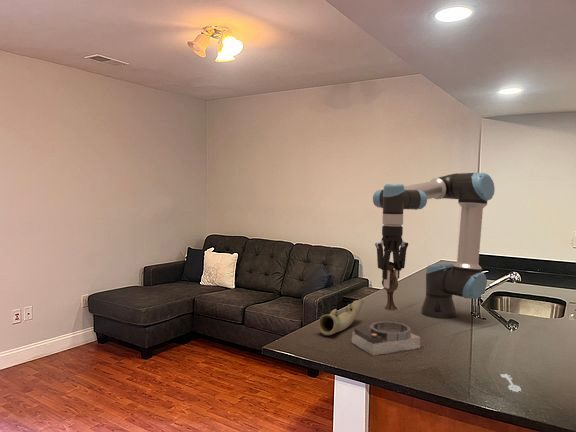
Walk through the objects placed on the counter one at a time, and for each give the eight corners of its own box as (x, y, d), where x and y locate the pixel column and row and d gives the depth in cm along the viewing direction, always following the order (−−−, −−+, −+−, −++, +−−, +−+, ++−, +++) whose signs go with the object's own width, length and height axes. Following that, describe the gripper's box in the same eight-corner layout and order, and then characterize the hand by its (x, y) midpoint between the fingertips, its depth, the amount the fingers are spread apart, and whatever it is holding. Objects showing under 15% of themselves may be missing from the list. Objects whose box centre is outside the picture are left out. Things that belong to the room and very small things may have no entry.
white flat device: (396, 335, 172) (396, 319, 171) (420, 348, 158) (420, 330, 158) (351, 342, 164) (351, 325, 164) (372, 355, 151) (373, 337, 150)
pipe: (335, 339, 167) (335, 313, 167) (316, 335, 172) (316, 310, 171) (364, 321, 191) (364, 298, 190) (346, 318, 195) (347, 296, 195)
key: (509, 392, 125) (522, 393, 124) (509, 388, 125) (522, 390, 124) (499, 375, 137) (511, 376, 136) (500, 372, 136) (511, 373, 136)
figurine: (378, 307, 168) (378, 260, 167) (386, 305, 171) (387, 259, 170) (393, 311, 162) (393, 263, 161) (402, 309, 165) (402, 262, 164)
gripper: (404, 224, 171) (402, 284, 172) (368, 224, 165) (366, 286, 166) (416, 225, 164) (414, 288, 165) (379, 226, 158) (377, 290, 159)
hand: (390, 287), depth 165 cm, fingers open, 3 cm apart
